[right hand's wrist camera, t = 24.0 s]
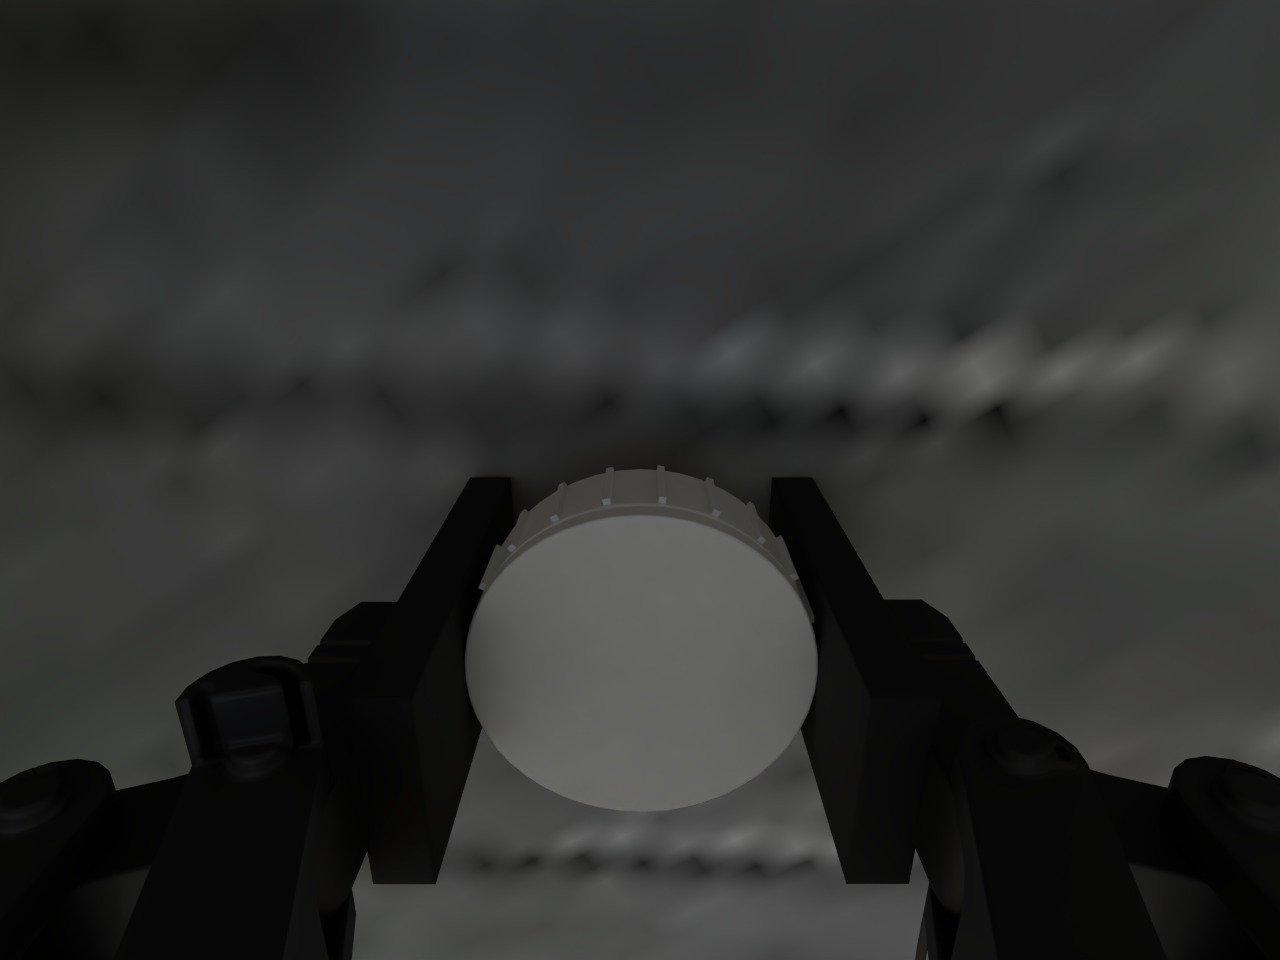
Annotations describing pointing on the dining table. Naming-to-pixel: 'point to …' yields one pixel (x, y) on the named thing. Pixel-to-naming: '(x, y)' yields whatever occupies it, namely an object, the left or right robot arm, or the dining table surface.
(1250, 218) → the dining table surface
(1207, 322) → the dining table surface
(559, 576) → the lid
